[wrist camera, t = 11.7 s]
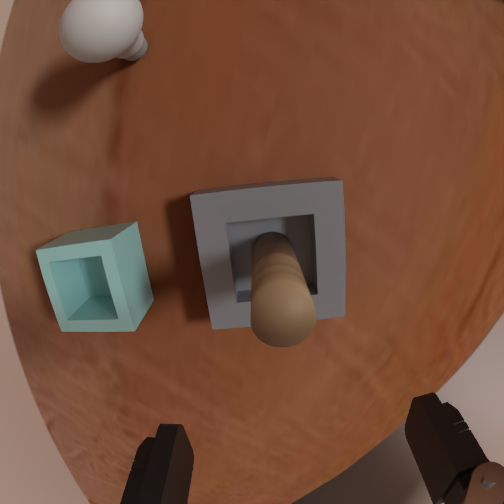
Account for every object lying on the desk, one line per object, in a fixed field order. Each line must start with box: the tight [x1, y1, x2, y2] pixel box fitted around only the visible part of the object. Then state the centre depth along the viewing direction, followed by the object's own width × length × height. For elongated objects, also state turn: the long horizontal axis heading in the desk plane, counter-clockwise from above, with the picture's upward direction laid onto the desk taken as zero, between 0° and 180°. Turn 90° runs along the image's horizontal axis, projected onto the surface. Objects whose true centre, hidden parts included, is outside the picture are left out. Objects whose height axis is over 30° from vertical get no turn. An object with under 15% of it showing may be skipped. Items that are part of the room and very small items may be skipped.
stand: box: [190, 177, 346, 330], centre depth 28 cm, size 12×12×3 cm
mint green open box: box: [36, 221, 154, 332], centre depth 27 cm, size 8×8×6 cm
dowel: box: [250, 232, 317, 347], centre depth 23 cm, size 4×4×12 cm
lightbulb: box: [59, 0, 148, 63], centre depth 18 cm, size 6×6×11 cm
